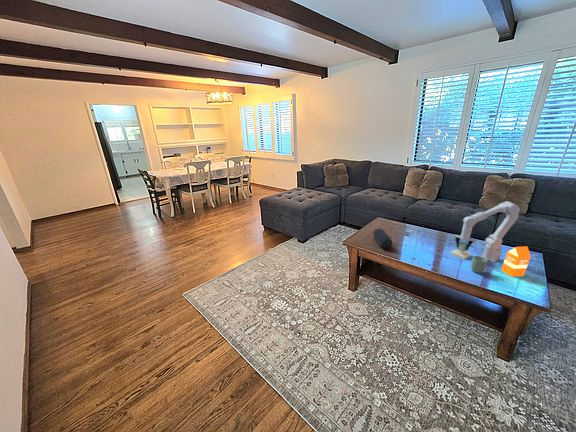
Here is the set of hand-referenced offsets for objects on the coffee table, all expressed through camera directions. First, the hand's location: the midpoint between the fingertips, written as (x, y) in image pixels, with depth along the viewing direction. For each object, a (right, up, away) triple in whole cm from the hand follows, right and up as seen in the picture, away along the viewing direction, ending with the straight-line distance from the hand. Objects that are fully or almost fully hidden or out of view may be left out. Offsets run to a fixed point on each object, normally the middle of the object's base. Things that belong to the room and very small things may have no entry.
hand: (462, 248), depth 184 cm
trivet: (0, -6, +2) cm, 6 cm away
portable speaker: (-53, +1, +24) cm, 58 cm away
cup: (-4, -13, -20) cm, 24 cm away
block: (0, -2, +1) cm, 2 cm away
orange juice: (+18, -14, -22) cm, 32 cm away
